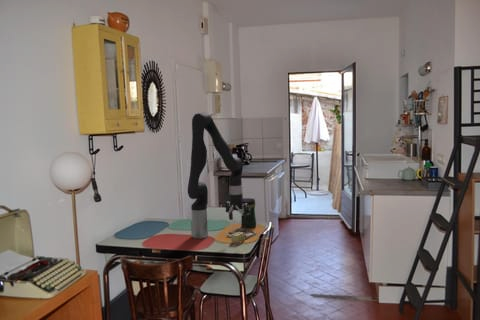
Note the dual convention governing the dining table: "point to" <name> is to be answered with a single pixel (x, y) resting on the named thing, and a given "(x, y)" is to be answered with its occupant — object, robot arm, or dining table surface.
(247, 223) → the coffee jar
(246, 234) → the hinge board
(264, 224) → the dining table surface
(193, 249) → the dining table surface
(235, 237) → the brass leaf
